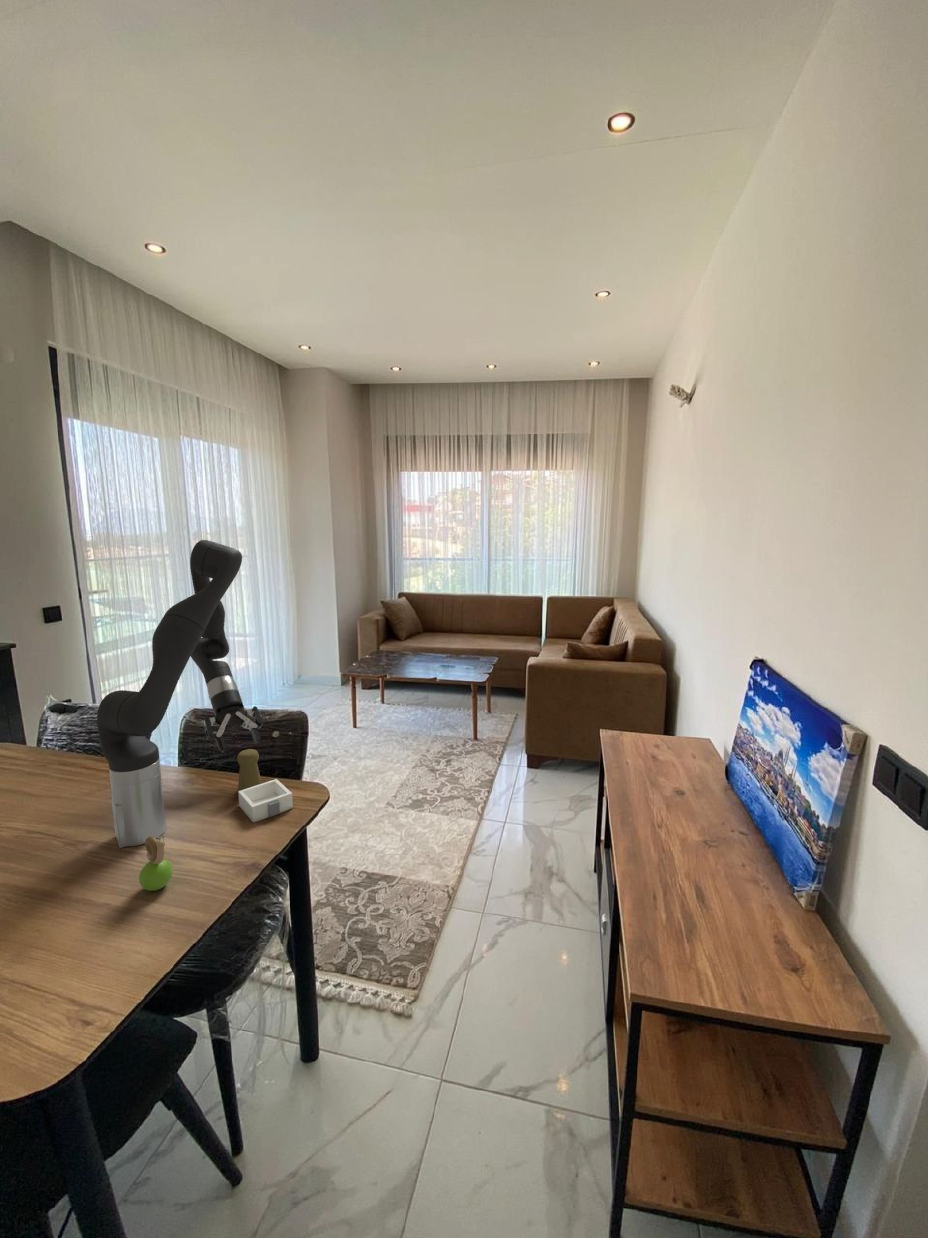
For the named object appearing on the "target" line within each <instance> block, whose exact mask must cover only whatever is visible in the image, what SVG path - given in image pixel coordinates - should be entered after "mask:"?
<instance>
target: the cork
mask: <svg viewBox="0 0 928 1238" xmlns="http://www.w3.org/2000/svg"><path fill="white" fill-rule="evenodd" d="M259 759H260V754H259V751H257V750H256V749H253V748H248V749H244V750H242V751H240V752H239V753H238V754H237V758H236V760H237V763H238V765H239V770H238V771H239V772H238V784H237V785H238V786H237V792H238V791H241V790H244V789H247V788H250V787H253V786H256V785H259V784H262V780H261V775H260V774H261V773H260V770H259V766H258V761H259Z"/></svg>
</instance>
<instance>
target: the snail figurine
mask: <svg viewBox="0 0 928 1238" xmlns="http://www.w3.org/2000/svg"><path fill="white" fill-rule="evenodd" d="M161 839H162V840H161ZM164 840H165V835H164V834H162V835H160V836H159V837H158V838H155V837H154V836H149V837H148V838H147V839H146V840H145V843H144V847H145V850H146V856H147V857H146V858H147V860H148V861H149V862H147V863H146V864H145V865H144V866H143V867H142V869H141V870H140V872H139V875H138V881H139V882H138V883H139V885H140V886H141V888H142V889H144V890H146V891H148V892H150V891H151V892H153V891H154V892H155V891H159V890H161V889H162V888H164V887H165V886H166V885H167V884H169V882H170V880H171V879H172V876H173V866H172V864H171V863H170V861H168V860H167V859H164V857H165V851H166V850H165V845H166V842H165V841H164Z"/></svg>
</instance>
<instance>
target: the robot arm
mask: <svg viewBox="0 0 928 1238" xmlns="http://www.w3.org/2000/svg"><path fill="white" fill-rule="evenodd" d="M242 561H243V554H242V553H241V551H240V550H239V549H236V548H234V547H231V546H228V545H225V544H221V543H218V542H215V541H213V540H207V539H201V540H198V542H196V544H195V545H194V547H193V548H192V550H191V553H190V557H189V566H190V567H189V568H190V575H191V580H192V586H193V591H194V594H192V595H191V596H188V597H186V598H184V599H183V600H181V601H179V602H177V603H175V604H173V605H172V606H171V607H170V608H169V609H168V610H167V611H165V613H164V614H163V617H162V618H161V620H160V622H159V623H158V625H157V627H156V628H155V630H154V633H153V635H152V641H151V648H152V649H151V650H152V667H151V669H150V672H149V675H148V676H147V679H146V680H145V682H144V684H143V686H142V687H141V689H140V690H138V691H135V690H123V689H121V690H115V691H111V692H110V693H108V694H107V695H105V696H104V698H102V700H101V701H100V703H99V706H98V708H97V713H96V723H97V731H98V736H99V741H100V747H101V752H102V755H103V757H104V759H106V761H107V763H108V770H109V771H108V772H109V780H110V788H111V798H110V799H111V809H112V818H113V819H112V820H113V827H114V834H115V839H116V842H117V844H118V848H120V849H121V848H126V847H134V846H135V847H136V846H140V845H143V844H144V845H145V840H146V839H147V838H148V837H149V836H154V837H155V838H156V839H158V837H161V836H162V835H164V832H165V831H166V830H167V823H166V816H165V815H166V812H165V802H164V801H165V800H164V793H163V781H162V780H163V779H162V771H161V770H162V769H161V760H160V759H161V757H160V751H159V747H158V745H157V744H156V743H154V741H153V740H150V739H149V738H147V736H148V735H150V734H152V733H153V732H154V731H155V730H156V729H157V728H158V727H159V725H160V724H161V723H162V721H163V719H164V717H165V715H166V712H167V710H168V707H169V705H170V704H171V703H170V702H171V700H172V698H173V695H174V692H175V690H176V687H177V685H178V682H179V680H180V679H181V677H182V674H183V672H184V670H185V668H186V666H187V664H188V662H189V660H190V658H191V660H192V661H193V662H194V663H195V665H196V666H197V667H198V668H199V670H200V672H201V673H202V675H203V678H204V682H205V685H206V687H207V693H208V694H207V695H208V699H209V701H210V704H211V707H212V711H213V713H214V716H213V717H209V716H205V718H204V719H203V727H204V733H205V736H206V740H207V741H209V742H210V741H215V743H216V747H217V749H218V751H219V752H221V753H222V754H223V753H226V751H227V747H226V743H225V740H224V737H223V736H222V735H223V734H224V732H225V730H227V731H231V730H233V729H238V728H241V727H242V728H244V729H247V730H249V731H250V732H251V737H252V740H253V743H254V745H257V744H259V742H260V740H261V734H260V732H259V729H261V728H262V727H263V725H264V720H263V718H262V716H261V713H260V711H259V709H258V707H257V706H253V707H252V708H249V709H246V708H245V705H244V702H243V700H242V699H243V698H242V696H241V694H240V691H239V689H238V685H237V683H236V681H235V679H234V676H233V674H232V671H231V668H230V665H229V663H227V661H225V660H224V661H223V660H219V659H224V658H225V657H226V656H227V655H228V654H229V652H230V645H229V642H228V638H227V636H226V633H225V620H226V611H225V607H224V604H223V602H222V598H223V597H224V595H225V594H226V592H227V591H228V589H229V588H230V586H231V584H232V583H233V582H234V580H235V578H236V577H237V575H238V573H239V572H240V568H241V566H242ZM248 715H249V716H250V717H252V718H253V720H254V722H253V721H252V720H251V718H249V717H247V716H248ZM214 723H215V724H217V725H218V726H219V728H218V730H217V733H214V732H213V731H214V730H213V725H214Z"/></svg>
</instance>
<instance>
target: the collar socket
mask: <svg viewBox="0 0 928 1238" xmlns="http://www.w3.org/2000/svg"><path fill="white" fill-rule="evenodd" d="M261 783H262V782H261ZM237 795H238V806H239V808H240V809H241V810H242V812H244V814H245V815H246V816H247V818H249V820H250V821H251V822H252V823H256V822H258V821H261V820H264V819H266V818H272V817H274V816H276V815H280V814H281V813H284V812H286V811H289V810H292V809H293V807H294V806H293V792H292V791H290V790H289V789H288V788H287V787H286V786H285V785H284V784H283V783H282V782H280V780H279V779H278V778H275V779H273V780H269V781H266V782H263V783H262V784H259V785H256V786H253V787H250V788H247V789H244V790H241V791H238V790H237Z"/></svg>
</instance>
